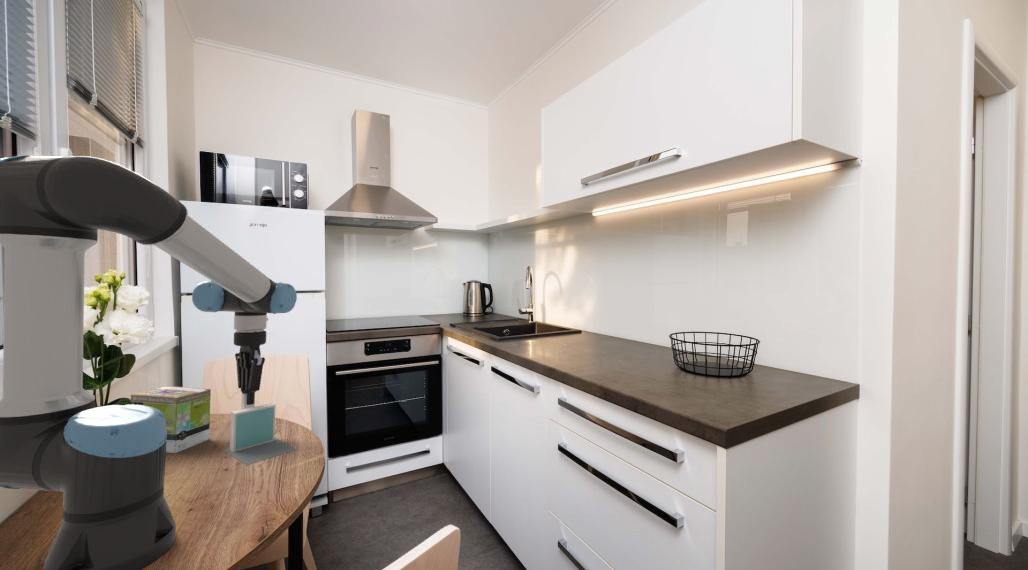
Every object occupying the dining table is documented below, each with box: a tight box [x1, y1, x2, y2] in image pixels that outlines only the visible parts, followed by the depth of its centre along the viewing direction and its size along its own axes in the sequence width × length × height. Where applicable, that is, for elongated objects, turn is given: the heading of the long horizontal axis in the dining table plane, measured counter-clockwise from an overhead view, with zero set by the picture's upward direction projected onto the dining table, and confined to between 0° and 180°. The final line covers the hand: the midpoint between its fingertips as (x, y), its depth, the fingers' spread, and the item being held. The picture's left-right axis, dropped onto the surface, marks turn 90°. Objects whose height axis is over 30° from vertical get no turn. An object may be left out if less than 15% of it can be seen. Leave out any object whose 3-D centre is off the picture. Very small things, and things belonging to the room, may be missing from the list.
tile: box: [229, 402, 276, 452], centre depth 108 cm, size 10×3×10 cm, turn 145°
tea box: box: [130, 385, 212, 454], centre depth 108 cm, size 15×10×15 cm
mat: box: [223, 437, 298, 466], centre depth 105 cm, size 12×14×1 cm
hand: (247, 415), depth 110 cm, fingers closed
